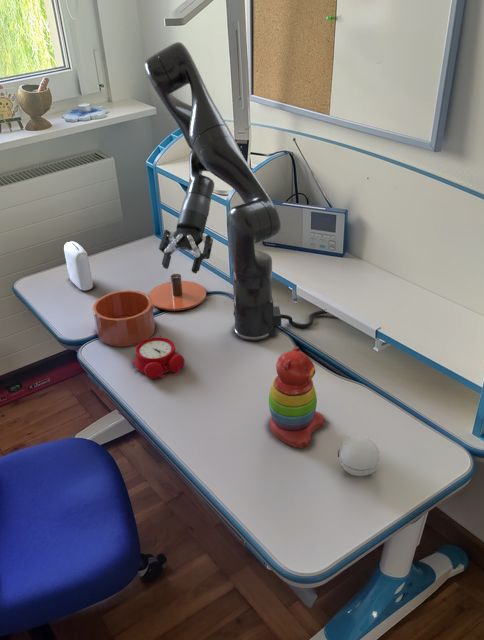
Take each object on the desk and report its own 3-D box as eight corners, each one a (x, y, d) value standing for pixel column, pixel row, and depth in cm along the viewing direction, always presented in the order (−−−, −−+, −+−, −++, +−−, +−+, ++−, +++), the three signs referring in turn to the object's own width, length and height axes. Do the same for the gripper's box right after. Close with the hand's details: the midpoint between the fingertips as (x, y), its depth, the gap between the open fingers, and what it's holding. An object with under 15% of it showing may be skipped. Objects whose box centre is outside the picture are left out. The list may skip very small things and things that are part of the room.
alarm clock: (165, 330, 159) (189, 347, 146) (169, 354, 161) (194, 373, 148) (124, 342, 155) (146, 361, 142) (129, 366, 158) (151, 387, 145)
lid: (194, 279, 188) (192, 258, 184) (215, 304, 176) (213, 282, 172) (142, 291, 183) (139, 270, 180) (159, 317, 171) (156, 295, 168)
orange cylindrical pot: (145, 310, 175) (142, 285, 171) (162, 337, 163) (159, 311, 159) (91, 323, 171) (87, 298, 167) (105, 351, 159) (100, 325, 155)
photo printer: (67, 279, 192) (60, 240, 185) (81, 275, 194) (74, 236, 187) (81, 292, 185) (74, 252, 178) (95, 288, 187) (88, 248, 180)
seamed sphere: (354, 451, 126) (357, 421, 122) (386, 470, 121) (390, 440, 117) (319, 476, 121) (320, 447, 117) (351, 498, 116) (353, 468, 112)
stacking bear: (305, 451, 127) (307, 376, 117) (258, 434, 131) (257, 361, 122) (327, 419, 134) (332, 346, 124) (283, 404, 139) (284, 333, 129)
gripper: (165, 205, 178) (150, 262, 176) (213, 211, 173) (199, 269, 171) (175, 216, 185) (161, 271, 183) (222, 222, 180) (208, 278, 178)
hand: (179, 270), depth 177 cm, fingers open, 8 cm apart
